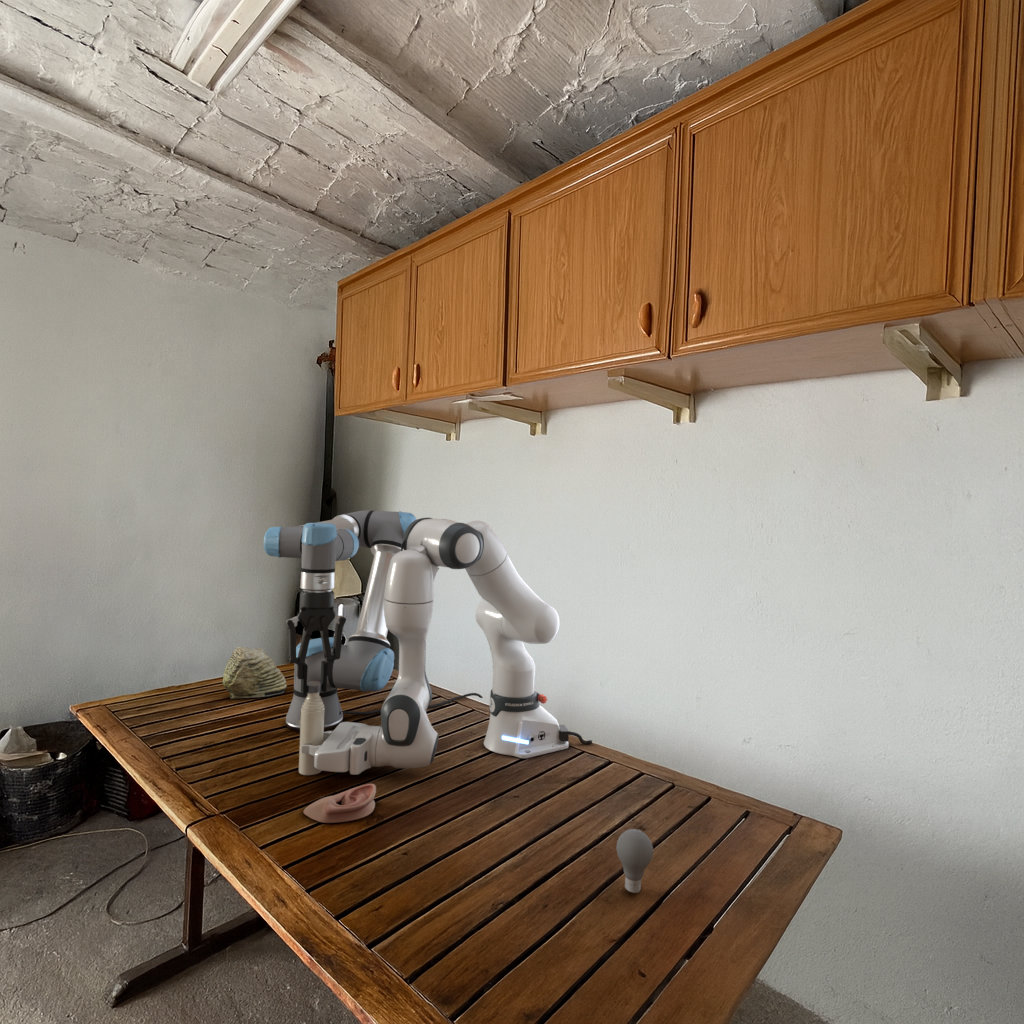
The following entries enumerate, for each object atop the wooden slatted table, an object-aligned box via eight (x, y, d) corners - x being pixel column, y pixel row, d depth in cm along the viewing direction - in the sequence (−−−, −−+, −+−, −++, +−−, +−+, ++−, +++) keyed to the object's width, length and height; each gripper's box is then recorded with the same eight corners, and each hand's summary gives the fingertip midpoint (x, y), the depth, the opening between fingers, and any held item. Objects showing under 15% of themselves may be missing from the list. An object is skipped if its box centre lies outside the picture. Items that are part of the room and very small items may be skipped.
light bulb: (610, 879, 108) (613, 822, 108) (644, 879, 109) (647, 822, 109) (619, 902, 102) (622, 840, 102) (655, 901, 103) (658, 840, 103)
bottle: (318, 763, 150) (321, 681, 150) (325, 772, 145) (328, 687, 145) (295, 768, 147) (299, 684, 147) (302, 777, 143) (305, 690, 142)
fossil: (218, 695, 195) (220, 647, 195) (278, 685, 208) (279, 640, 207) (228, 703, 189) (230, 653, 188) (289, 692, 201) (290, 645, 201)
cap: (321, 693, 145) (322, 685, 144) (304, 693, 144) (304, 686, 144) (322, 688, 148) (322, 680, 148) (305, 688, 147) (305, 681, 147)
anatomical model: (295, 798, 124) (324, 774, 135) (295, 818, 124) (324, 792, 135) (358, 808, 121) (383, 782, 132) (358, 828, 121) (382, 801, 133)
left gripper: (282, 593, 138) (278, 700, 138) (358, 591, 146) (354, 691, 147) (276, 588, 145) (272, 690, 145) (349, 586, 153) (345, 683, 153)
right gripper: (378, 716, 156) (322, 713, 156) (356, 749, 136) (292, 745, 136) (377, 742, 156) (321, 739, 157) (354, 778, 136) (291, 775, 136)
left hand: (313, 691), depth 146 cm, fingers closed on cap, 4 cm apart
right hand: (307, 742), depth 146 cm, fingers closed on bottle, 5 cm apart
